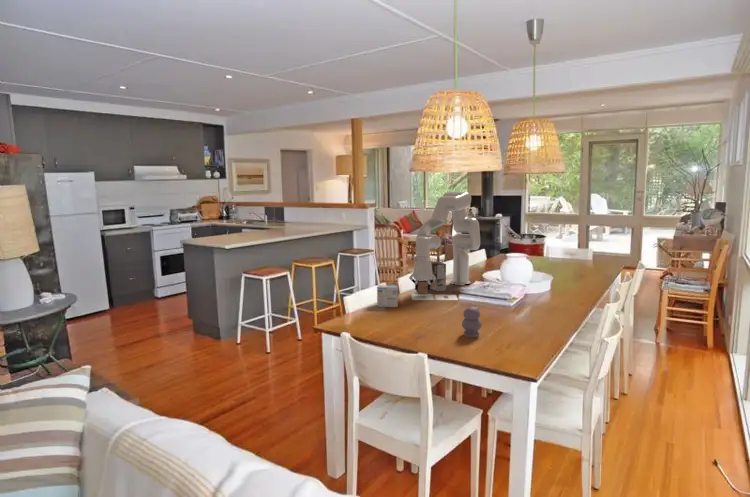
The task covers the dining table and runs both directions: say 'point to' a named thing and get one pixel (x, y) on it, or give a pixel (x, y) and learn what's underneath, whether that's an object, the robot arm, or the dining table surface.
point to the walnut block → (422, 287)
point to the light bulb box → (387, 295)
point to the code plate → (446, 297)
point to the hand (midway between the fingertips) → (422, 290)
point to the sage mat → (422, 297)
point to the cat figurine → (471, 322)
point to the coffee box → (438, 276)
